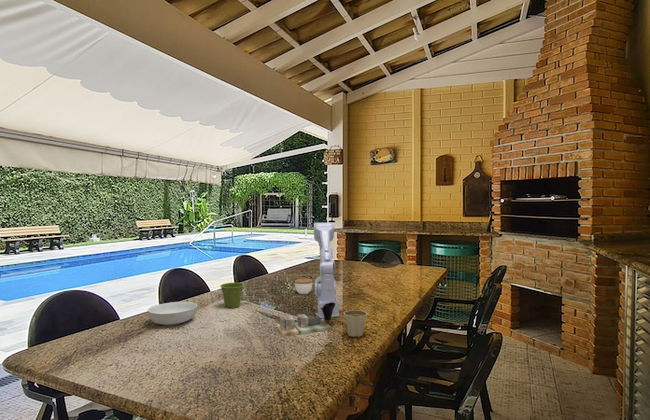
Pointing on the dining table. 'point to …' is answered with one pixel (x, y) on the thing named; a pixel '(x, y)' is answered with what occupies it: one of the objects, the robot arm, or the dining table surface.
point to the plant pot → (232, 294)
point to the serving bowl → (172, 312)
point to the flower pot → (355, 322)
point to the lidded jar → (303, 285)
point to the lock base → (292, 328)
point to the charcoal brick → (311, 321)
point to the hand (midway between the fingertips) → (327, 320)
